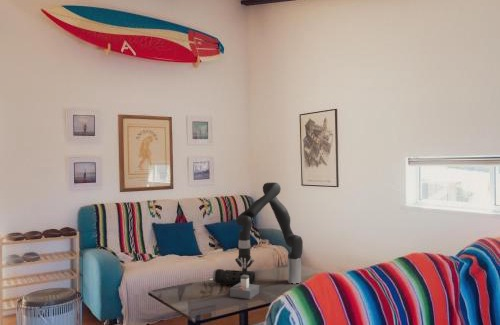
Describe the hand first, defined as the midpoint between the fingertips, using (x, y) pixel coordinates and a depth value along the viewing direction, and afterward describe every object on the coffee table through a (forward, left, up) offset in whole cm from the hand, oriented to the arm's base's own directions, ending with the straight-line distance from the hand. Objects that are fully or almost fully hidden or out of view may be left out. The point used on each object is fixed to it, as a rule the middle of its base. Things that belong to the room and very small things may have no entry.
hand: (244, 273), depth 278 cm
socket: (0, 0, -13) cm, 13 cm away
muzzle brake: (-16, -16, -14) cm, 27 cm away
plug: (0, 0, -12) cm, 12 cm away
